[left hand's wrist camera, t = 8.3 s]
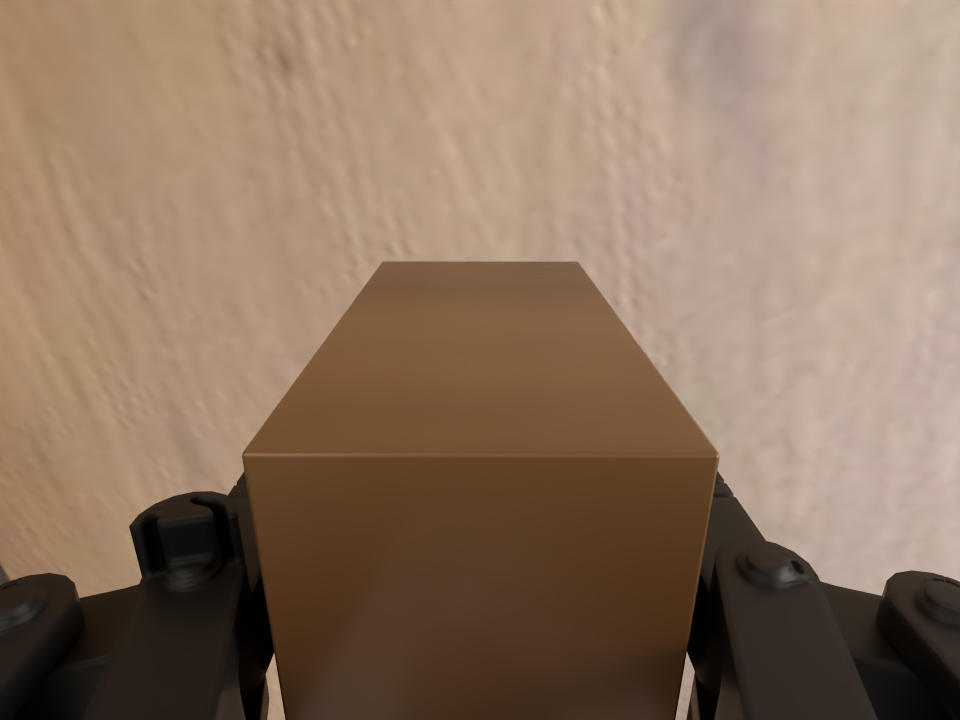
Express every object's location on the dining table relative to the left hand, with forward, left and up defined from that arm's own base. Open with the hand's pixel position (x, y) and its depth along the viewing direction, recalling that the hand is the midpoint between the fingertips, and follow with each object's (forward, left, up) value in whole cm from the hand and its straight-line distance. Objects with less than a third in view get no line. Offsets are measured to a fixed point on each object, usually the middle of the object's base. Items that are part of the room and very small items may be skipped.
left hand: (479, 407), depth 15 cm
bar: (+9, 0, -1) cm, 9 cm away
